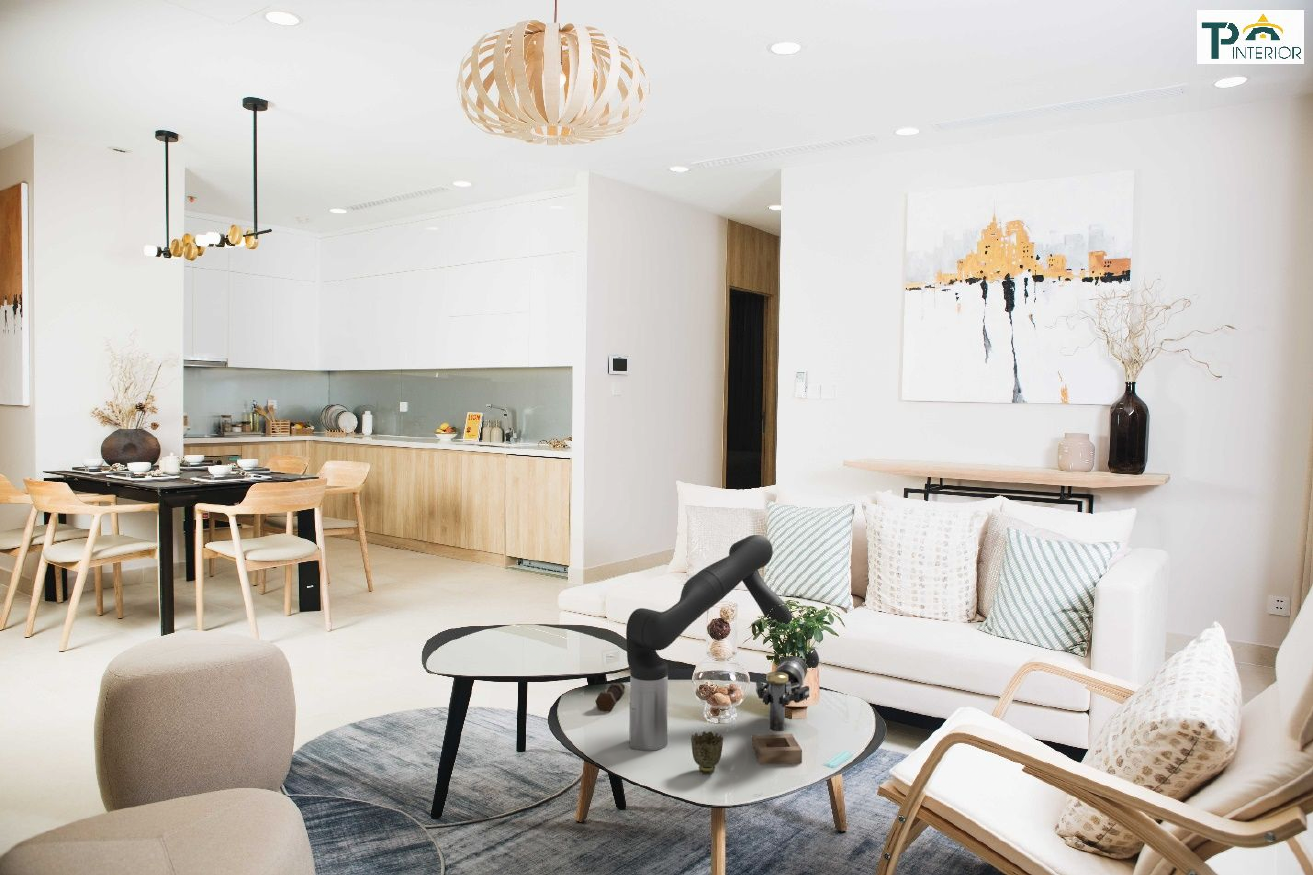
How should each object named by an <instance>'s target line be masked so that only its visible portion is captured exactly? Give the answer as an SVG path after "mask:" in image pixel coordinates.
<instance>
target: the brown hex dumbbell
mask: <svg viewBox="0 0 1313 875" xmlns="http://www.w3.org/2000/svg"><path fill="white" fill-rule="evenodd" d="M625 689H626V687H625V685H624V684H623V683H622V682H619V681H617V682H612V683H611V684H610V685H609V687H608V688H607V690H606V691H600V693H598V696H597V698H596V699H595V701H594V702H595V705H596V707H597V709H598V710H599V711H601V712H605V713H608V712H609V713H610V712H612V711H613V709H614V707H615V706H616V704H617V701H620V699H621V698H622V697H623V696H624V694H625Z"/></svg>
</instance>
